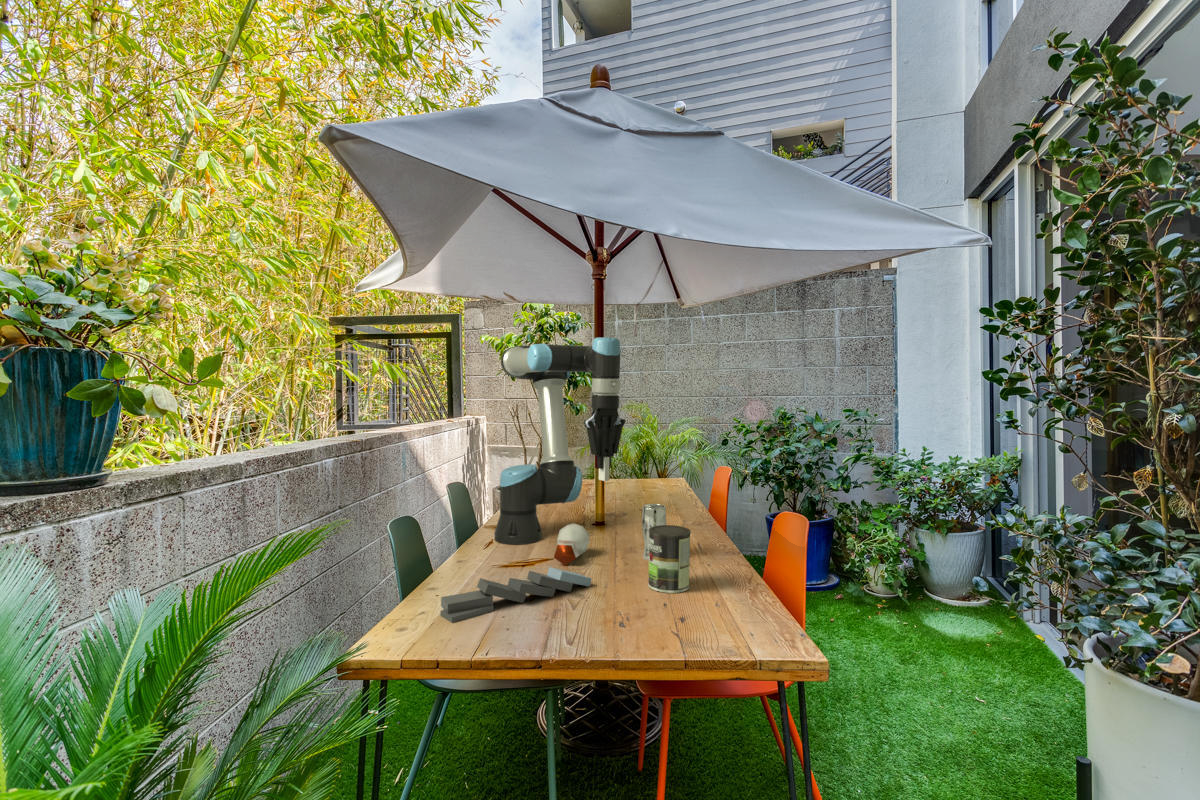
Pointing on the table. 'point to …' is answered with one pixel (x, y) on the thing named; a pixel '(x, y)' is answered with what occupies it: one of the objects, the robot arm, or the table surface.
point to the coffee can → (669, 558)
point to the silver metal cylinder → (651, 522)
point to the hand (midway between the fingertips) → (603, 479)
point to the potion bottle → (571, 543)
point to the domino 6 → (569, 576)
